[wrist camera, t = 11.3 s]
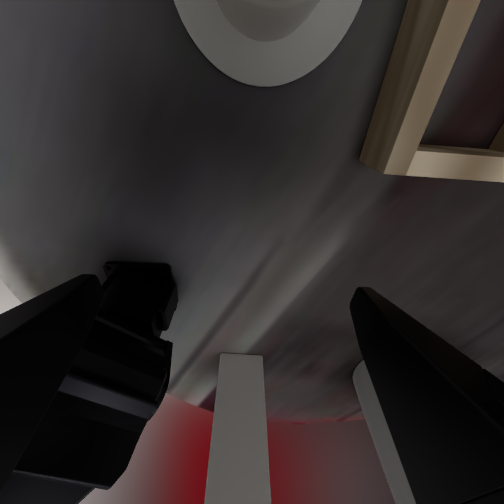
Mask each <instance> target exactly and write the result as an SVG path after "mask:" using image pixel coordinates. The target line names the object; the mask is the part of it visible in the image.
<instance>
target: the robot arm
mask: <svg viewBox="0 0 504 504" xmlns="http://www.w3.org/2000/svg"><path fill="white" fill-rule="evenodd" d="M109 266H110V267H109ZM103 267H104V270H105V273H106V276H107V280H106V281H105V282H104V284H103V285H102V286H101V284H100V281H99V279H98V277H97V276H96V275H93V274H82V275H79V276H77V277H75V278H73V279H71V280H69V281H67V282H65V283H63V284H61V285H59V286H57V287H55V288H53V289H51V290H49V291H47V292H45V293H43V294H41V295H39V296H37V297H35V298H33V299H31V300H29V301H27V302H25V303H23V304H21V305H19V306H16V307H15V308H12V309H10V310H9V311H6V312H4V313H2V314H0V504H78V503H79V502H80V501H82V500H83V499H84V498H85V497H86V496H87V495H88V494H89V493H90V492H91V491H92V490H94V489H95V488H99V489H105V490H108V489H109V488H111V487H112V486H113V484H114V483H115V482H116V481H117V480H118V478H119V477H120V476H121V475H122V474H123V473H124V471H125V470H126V468H127V466H128V464H129V461H130V459H131V456H132V454H133V451H134V449H135V447H136V444H137V442H138V440H139V437H140V435H141V433H142V431H143V429H144V427H145V425H146V423H147V421H148V420H150V419H151V417H152V416H153V415H154V414H155V412H156V411H157V409H158V408H159V406H160V404H161V402H162V400H163V398H164V395H165V393H166V390H167V387H168V384H169V379H170V368H171V357H172V346H173V343H172V342H170V341H168V340H167V341H165V340H163V339H161V338H160V335H161V333H162V331H166V330H167V329H168V328H169V325H170V323H171V320H172V317H173V314H174V311H175V310H176V308H177V302H178V296H177V289H176V284H175V283H174V282H173V279H172V272H171V267H170V266H169V265H167V264H150V263H128V262H106V263H105V265H104V266H103ZM164 268H165V269H167V270H165V269H164ZM350 312H351V316H352V320H353V324H354V328H355V332H356V336H357V340H358V344H359V347H360V351H361V354H362V357H363V359H364V362H365V365H366V368H367V370H368V373H369V376H370V379H371V381H372V384H373V387H374V390H375V392H376V395H377V398H378V401H379V403H380V406H381V409H382V412H383V414H384V417H385V420H386V423H387V425H388V428H389V431H390V434H391V436H392V439H393V442H394V445H395V447H396V450H397V453H398V456H399V458H400V461H401V464H402V467H403V469H404V472H405V475H406V478H407V480H408V483H409V486H410V489H411V491H412V494H413V497H414V500H415V502H416V504H504V382H502V381H501V380H499V379H498V378H497V377H495V376H494V375H493V374H491V373H490V372H488V371H487V370H486V369H482V367H481V366H480V365H478V364H477V363H476V362H474V361H473V360H471V359H470V358H469V357H467V356H466V355H464V354H463V353H462V352H460V351H459V350H457V349H456V348H455V347H453V346H452V345H450V344H449V343H448V342H446V341H445V340H443V339H442V338H440V337H439V336H438V335H436V334H435V333H433V332H432V331H431V330H429V329H428V328H426V327H425V326H424V325H422V324H421V323H419V322H418V321H417V320H415V319H414V318H412V317H411V316H410V315H408V314H407V313H405V312H404V311H403V310H401V309H400V308H398V307H397V306H396V305H394V304H393V303H391V302H390V301H389V300H387V299H386V298H384V297H383V296H382V295H380V294H379V293H377V292H376V291H375V290H373V289H372V288H370V287H358V288H357V289H356V291H355V293H354V295H353V297H352V300H351V302H350Z"/></svg>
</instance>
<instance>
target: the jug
mask: <svg viewBox="0 0 504 504" xmlns="http://www.w3.org/2000/svg"><path fill="white" fill-rule="evenodd" d="M216 1H217V3H218V6H219V7H220V9H221V11H222V13H223V14H224V16H225V17H226V19H227V20H228V21H229V22H230V24H231V25H232V26H233V27H234V28H235V29H236V30H238V31H239V32H240V33H241V34H243V35H245V36H246V37H248V38H251V39H253V40H257V41H265V42H269V41H276V40H279V39H282V38H284V37H286V36H288V35H290V34H291V33H293V32H294V31H295V30H296V29H298V28H299V27H300V26H301V25H302V24H303V23H304V21H305V20H306V19H307V18H308V17H309V15H310V14H311V12H312V11H313V10H314V8H315V7H316V6H317V4H318V3H319V1H320V0H216Z"/></svg>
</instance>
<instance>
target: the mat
mask: <svg viewBox="0 0 504 504" xmlns="http://www.w3.org/2000/svg"><path fill="white" fill-rule="evenodd" d="M361 2H362V0H320V1H319V3H318V4H317V6H316V7H315V8H314V10H313V11H312V12H311V14H310V15H309V17H308V18H307V19H306V20H305V21H304V23H303V24H302V25H301V26H300V27H299V28H298V29H296V30H295V31H294V32H293V33H291V34H290V35H288V36H286V37H284V38H282V39H279V40H276V41H269V42H265V41H257V40H253V39H251V38H248V37H246V36H245V35H243V34H241V33H240V32H239V31H238V30H236V29H235V28H234V27H233V26H232V25H231V24H230V22H229V21H228V20H227V19H226V17H225V16H224V14H223V13H222V11H221V9H220V7H219V6H218V3H217V1H216V0H174V3H175V6H176V8H177V10H178V13H179V15H180V18H181V20H182V22H183V24H184V26H185V27H186V29H187V31H188V33H189V35H190V36H191V38H192V39H193V41H194V42H195V44H196V45H197V47H198V48H199V49H200V51H201V52H202V53H203V54H204V55H205V56H206V58H207V59H208V60H209V61H210V62H211V63H212V64H213V65H215V66H216V67H217V68H218V69H219V70H220V71H222V72H223V73H225V74H226V75H227V76H229V77H231V78H233V79H235V80H237V81H239V82H242V83H245V84H248V85H252V86H258V87H272V86H279V85H283V84H286V83H289V82H292V81H294V80H296V79H298V78H300V77H302V76H304V75H306V74H307V73H309V72H310V71H312V70H313V69H315V68H316V67H317V66H318V65H319V64H321V63H322V62H323V61H324V60H325V59H326V58H327V57H328V56H329V55H330V54H331V52H332V51H333V50H334V49H335V48H336V47H337V45H338V44H339V42H340V41H341V40H342V38H343V37H344V35H345V34H346V32H347V30H348V29H349V27H350V25H351V24H352V22H353V20H354V18H355V16H356V14H357V12H358V9H359V7H360V5H361Z"/></svg>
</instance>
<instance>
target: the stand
mask: <svg viewBox="0 0 504 504" xmlns="http://www.w3.org/2000/svg"><path fill="white" fill-rule="evenodd" d="M480 1H481V0H408V2H407V5H406V8H405V12H404V15H403V18H402V21H401V25H400V28H399V31H398V34H397V38H396V41H395V44H394V47H393V51H392V54H391V57H390V60H389V64H388V67H387V70H386V73H385V77H384V80H383V83H382V86H381V90H380V93H379V96H378V99H377V103H376V106H375V109H374V112H373V116H372V119H371V122H370V125H369V129H368V132H367V135H366V138H365V142H364V145H363V148H362V151H361V155H360V158H359V161H361V162H362V163H364V164H366V165H368V166H370V167H372V168H374V169H375V170H377V171H379V172H381V173H383V174H392V175H407V176H421V177H435V178H450V179H464V180H479V181H493V182H504V123H503V124H502V126H501V128H500V130H499V131H498V133H497V135H496V136H495V138H494V140H493V141H492V143H491V145H490V147H489V148H488V149H478V148H465V147H452V146H439V145H426V144H419V143H420V141H421V139H422V136H423V134H424V132H425V129H426V127H427V125H428V122H429V120H430V118H431V115H432V113H433V111H434V108H435V106H436V103H437V101H438V99H439V96H440V94H441V92H442V89H443V87H444V85H445V82H446V80H447V78H448V75H449V73H450V71H451V68H452V66H453V64H454V61H455V59H456V57H457V54H458V52H459V50H460V47H461V45H462V43H463V40H464V38H465V36H466V33H467V31H468V29H469V26H470V24H471V22H472V19H473V17H474V15H475V12H476V10H477V8H478V5H479V3H480Z"/></svg>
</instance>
